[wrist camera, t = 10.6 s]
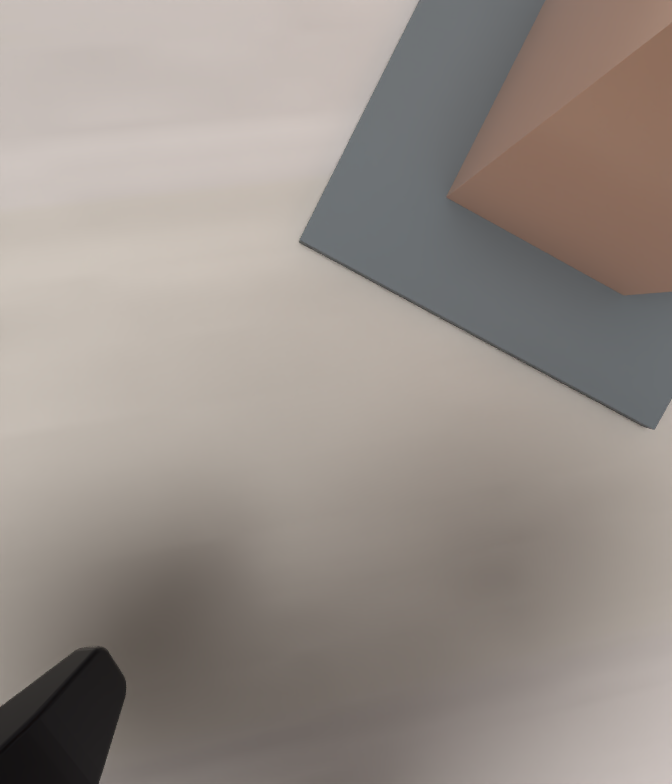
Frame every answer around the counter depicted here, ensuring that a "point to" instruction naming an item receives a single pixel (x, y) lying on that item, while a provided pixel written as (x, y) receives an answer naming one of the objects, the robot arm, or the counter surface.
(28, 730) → the robot arm
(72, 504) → the counter surface
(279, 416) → the counter surface
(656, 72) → the tall salmon pink block
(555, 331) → the mat
